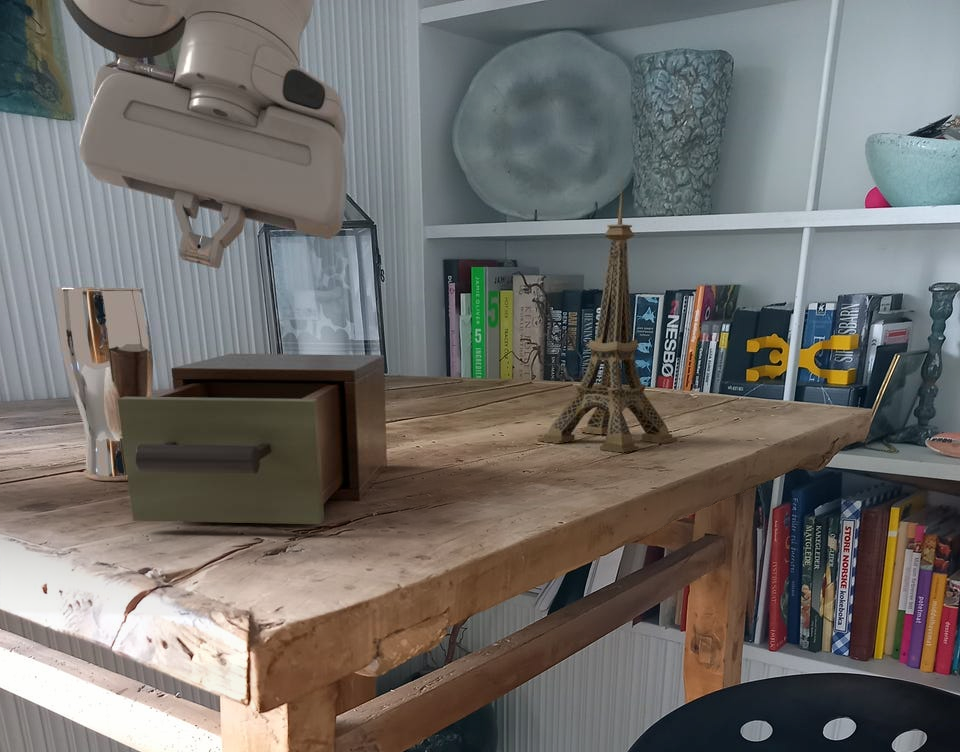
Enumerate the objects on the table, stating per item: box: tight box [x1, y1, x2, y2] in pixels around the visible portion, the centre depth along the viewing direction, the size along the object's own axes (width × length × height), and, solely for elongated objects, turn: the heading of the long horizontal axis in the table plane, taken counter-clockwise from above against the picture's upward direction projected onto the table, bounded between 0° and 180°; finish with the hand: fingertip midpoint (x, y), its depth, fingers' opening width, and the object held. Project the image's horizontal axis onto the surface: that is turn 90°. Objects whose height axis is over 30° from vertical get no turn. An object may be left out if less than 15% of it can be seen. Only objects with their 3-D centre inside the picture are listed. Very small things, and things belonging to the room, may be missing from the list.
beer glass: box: [55, 286, 154, 482], centre depth 77 cm, size 7×7×15 cm
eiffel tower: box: [537, 177, 679, 454], centre depth 94 cm, size 11×11×25 cm
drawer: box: [117, 381, 347, 525], centre depth 63 cm, size 18×12×8 cm
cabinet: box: [170, 353, 388, 501], centre depth 77 cm, size 15×14×10 cm
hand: (199, 262), depth 73 cm, fingers closed
